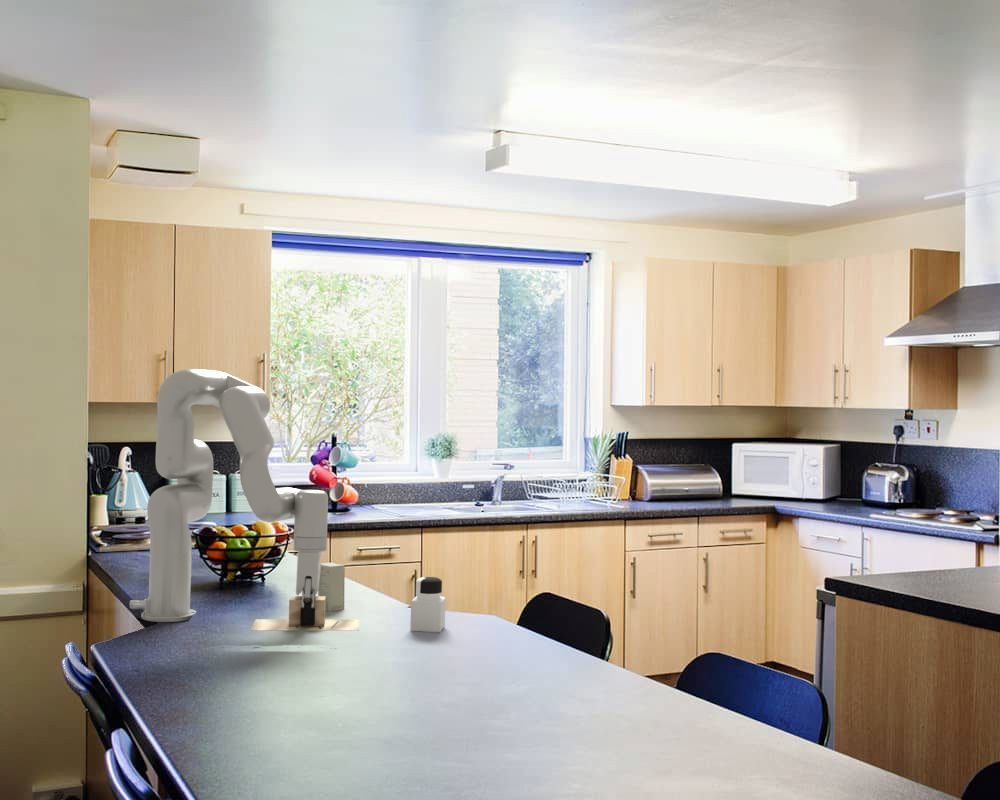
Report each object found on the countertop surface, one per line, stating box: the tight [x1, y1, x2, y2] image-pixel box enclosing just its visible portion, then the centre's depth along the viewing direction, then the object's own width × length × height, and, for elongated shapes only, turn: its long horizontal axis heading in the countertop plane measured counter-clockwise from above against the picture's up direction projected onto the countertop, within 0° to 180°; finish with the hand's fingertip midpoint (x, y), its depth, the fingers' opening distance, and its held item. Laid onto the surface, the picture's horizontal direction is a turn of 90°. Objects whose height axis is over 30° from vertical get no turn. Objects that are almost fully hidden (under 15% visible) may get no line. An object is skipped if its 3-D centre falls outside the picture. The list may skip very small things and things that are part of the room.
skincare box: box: [317, 562, 346, 612], centre depth 263 cm, size 6×4×12 cm
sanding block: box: [288, 595, 326, 627], centre depth 242 cm, size 8×5×6 cm, turn 97°
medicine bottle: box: [409, 576, 447, 633], centre depth 247 cm, size 7×7×12 cm
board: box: [250, 618, 360, 631], centre depth 242 cm, size 24×12×1 cm, turn 98°
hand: (308, 622), depth 242 cm, fingers closed on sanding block, 5 cm apart
